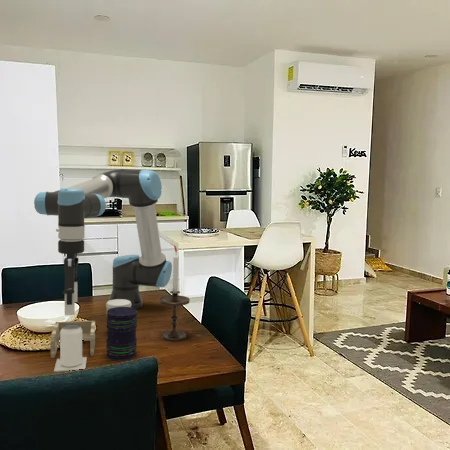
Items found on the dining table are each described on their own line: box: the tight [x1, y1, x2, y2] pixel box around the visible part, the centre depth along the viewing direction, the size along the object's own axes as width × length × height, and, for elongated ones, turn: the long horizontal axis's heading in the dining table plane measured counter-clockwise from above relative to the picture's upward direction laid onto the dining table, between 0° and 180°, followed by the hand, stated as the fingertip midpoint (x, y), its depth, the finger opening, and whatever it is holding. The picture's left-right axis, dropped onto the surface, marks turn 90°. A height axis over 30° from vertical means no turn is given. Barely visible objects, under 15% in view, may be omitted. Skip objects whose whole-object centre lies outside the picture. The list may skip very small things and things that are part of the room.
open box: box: [50, 320, 96, 359], centre depth 155 cm, size 15×13×7 cm
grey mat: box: [53, 356, 88, 373], centre depth 142 cm, size 9×9×1 cm
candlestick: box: [159, 243, 191, 342], centre depth 168 cm, size 11×11×35 cm
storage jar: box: [105, 307, 138, 362], centre depth 150 cm, size 10×10×15 cm
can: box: [59, 323, 83, 367], centre depth 141 cm, size 6×6×12 cm
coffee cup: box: [105, 299, 132, 313], centre depth 171 cm, size 9×9×12 cm
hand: (71, 308), depth 140 cm, fingers open, 13 cm apart
